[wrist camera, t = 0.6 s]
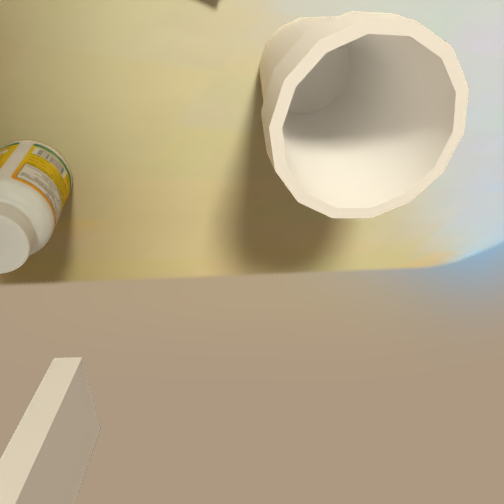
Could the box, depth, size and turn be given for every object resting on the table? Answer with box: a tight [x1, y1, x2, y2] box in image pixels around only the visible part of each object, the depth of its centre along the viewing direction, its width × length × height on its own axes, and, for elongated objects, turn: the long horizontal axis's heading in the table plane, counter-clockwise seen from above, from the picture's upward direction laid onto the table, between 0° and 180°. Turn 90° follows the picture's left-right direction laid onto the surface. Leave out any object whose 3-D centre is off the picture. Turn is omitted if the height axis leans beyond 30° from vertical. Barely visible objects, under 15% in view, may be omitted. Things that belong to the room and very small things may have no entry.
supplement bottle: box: [0, 140, 72, 274], centre depth 30 cm, size 5×5×10 cm
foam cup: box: [259, 11, 469, 218], centre depth 28 cm, size 10×9×13 cm
